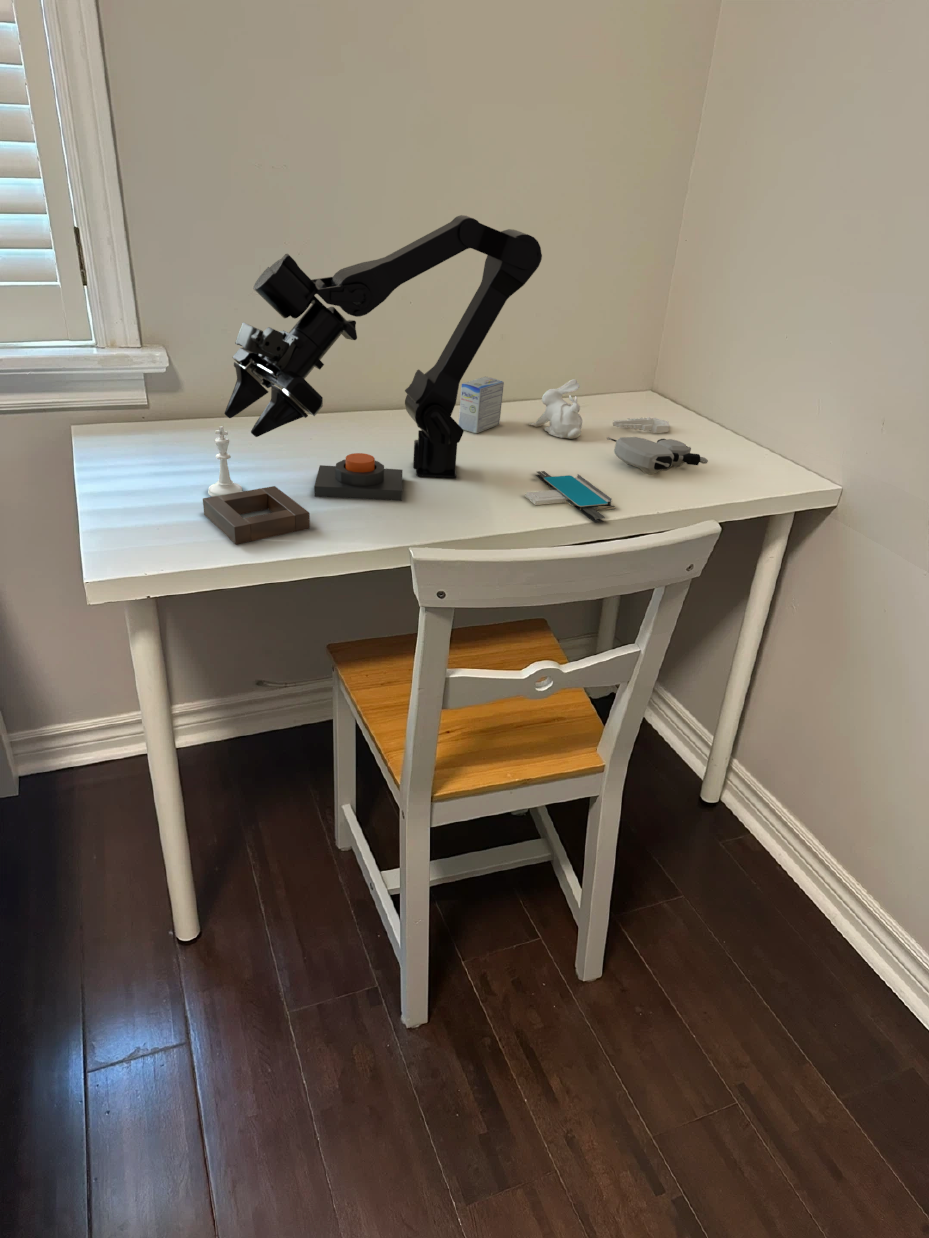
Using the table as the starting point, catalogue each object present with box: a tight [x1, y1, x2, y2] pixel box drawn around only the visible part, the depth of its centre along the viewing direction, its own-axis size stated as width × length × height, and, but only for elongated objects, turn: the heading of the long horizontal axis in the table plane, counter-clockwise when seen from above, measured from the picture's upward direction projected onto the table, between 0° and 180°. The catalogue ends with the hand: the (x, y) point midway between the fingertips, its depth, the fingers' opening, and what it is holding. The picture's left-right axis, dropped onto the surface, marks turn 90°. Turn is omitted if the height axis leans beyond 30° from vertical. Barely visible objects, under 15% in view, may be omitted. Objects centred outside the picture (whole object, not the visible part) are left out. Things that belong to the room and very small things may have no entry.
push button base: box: [313, 458, 403, 502], centre depth 132 cm, size 13×9×4 cm
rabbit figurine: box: [529, 378, 584, 440], centre depth 163 cm, size 12×8×10 cm, turn 33°
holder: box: [202, 485, 311, 545], centre depth 118 cm, size 11×11×2 cm
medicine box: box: [457, 376, 505, 434], centre depth 162 cm, size 8×4×9 cm, turn 144°
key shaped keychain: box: [612, 416, 670, 434], centre depth 170 cm, size 13×5×2 cm, turn 113°
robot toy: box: [606, 436, 709, 475], centre depth 151 cm, size 12×4×15 cm
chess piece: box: [208, 425, 244, 497], centre depth 125 cm, size 5×5×10 cm
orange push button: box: [345, 452, 376, 473], centre depth 131 cm, size 4×4×2 cm
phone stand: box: [524, 470, 616, 524], centre depth 135 cm, size 20×12×2 cm, turn 22°
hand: (239, 425), depth 124 cm, fingers open, 9 cm apart
